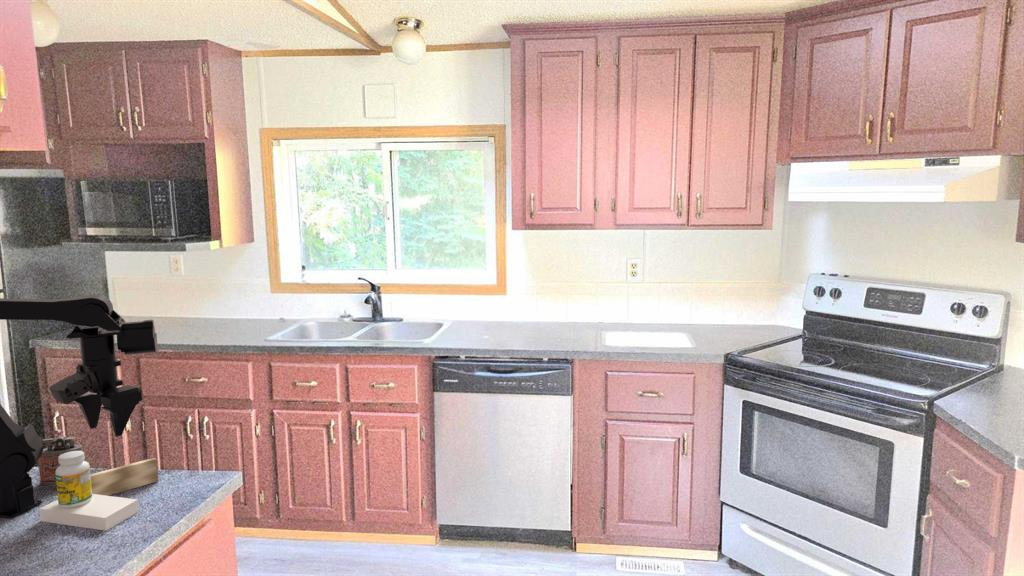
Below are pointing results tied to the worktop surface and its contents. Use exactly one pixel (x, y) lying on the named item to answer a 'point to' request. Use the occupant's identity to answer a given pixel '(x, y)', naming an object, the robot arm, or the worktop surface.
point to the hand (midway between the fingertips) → (105, 431)
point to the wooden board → (124, 477)
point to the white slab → (91, 512)
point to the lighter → (54, 458)
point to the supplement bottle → (73, 480)
